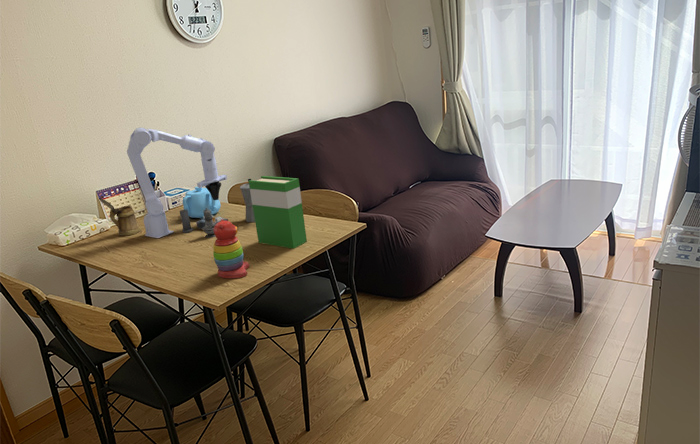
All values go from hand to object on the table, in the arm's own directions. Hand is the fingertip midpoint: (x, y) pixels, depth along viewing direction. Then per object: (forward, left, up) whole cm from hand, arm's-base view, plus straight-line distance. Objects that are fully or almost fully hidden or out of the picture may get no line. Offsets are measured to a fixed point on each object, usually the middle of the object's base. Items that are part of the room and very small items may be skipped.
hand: (215, 199), depth 224 cm
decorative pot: (-16, +4, -10) cm, 19 cm away
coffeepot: (+15, +8, -10) cm, 20 cm away
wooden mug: (-29, -28, -10) cm, 42 cm away
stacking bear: (+50, -37, -10) cm, 63 cm away
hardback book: (+46, -9, -10) cm, 48 cm away
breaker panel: (+4, -7, -10) cm, 12 cm away
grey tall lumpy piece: (+12, -15, -10) cm, 21 cm away
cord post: (-3, -15, -10) cm, 18 cm away
